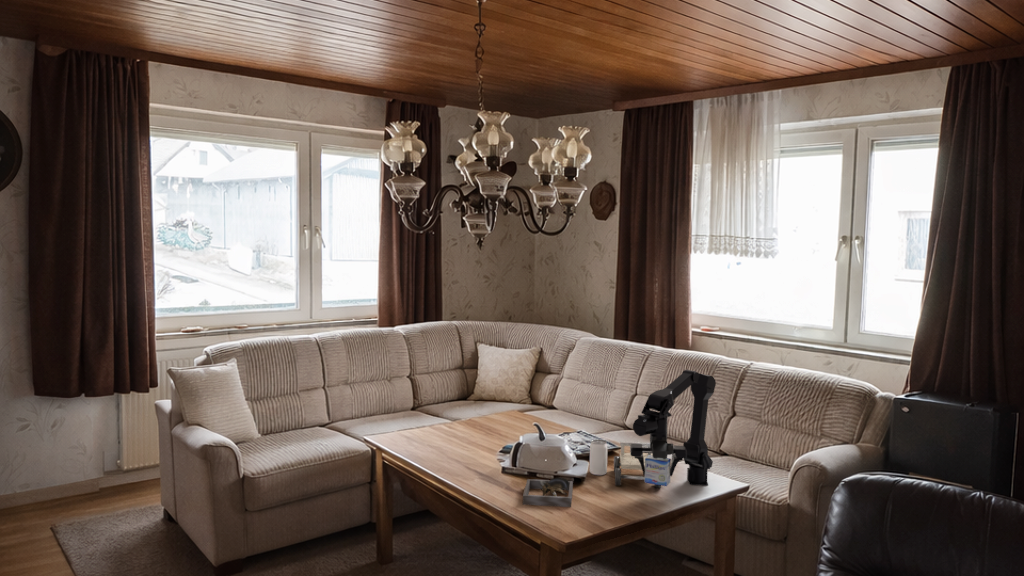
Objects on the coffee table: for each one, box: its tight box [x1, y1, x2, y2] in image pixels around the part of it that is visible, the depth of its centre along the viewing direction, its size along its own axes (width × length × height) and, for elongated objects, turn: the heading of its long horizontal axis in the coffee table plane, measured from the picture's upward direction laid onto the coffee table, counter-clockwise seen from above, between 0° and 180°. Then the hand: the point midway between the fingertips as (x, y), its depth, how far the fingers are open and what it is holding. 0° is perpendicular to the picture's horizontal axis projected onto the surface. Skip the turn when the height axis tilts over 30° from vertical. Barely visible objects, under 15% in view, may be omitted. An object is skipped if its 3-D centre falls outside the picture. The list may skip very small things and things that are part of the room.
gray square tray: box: [522, 478, 574, 508], centre depth 243 cm, size 16×16×3 cm
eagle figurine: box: [540, 477, 570, 496], centre depth 245 cm, size 8×7×9 cm
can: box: [589, 439, 608, 477], centre depth 268 cm, size 6×6×12 cm
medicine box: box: [644, 455, 672, 487], centre depth 243 cm, size 8×4×9 cm, turn 63°
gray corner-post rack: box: [613, 441, 662, 488], centre depth 261 cm, size 16×20×12 cm
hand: (657, 475), depth 244 cm, fingers closed on medicine box, 9 cm apart
